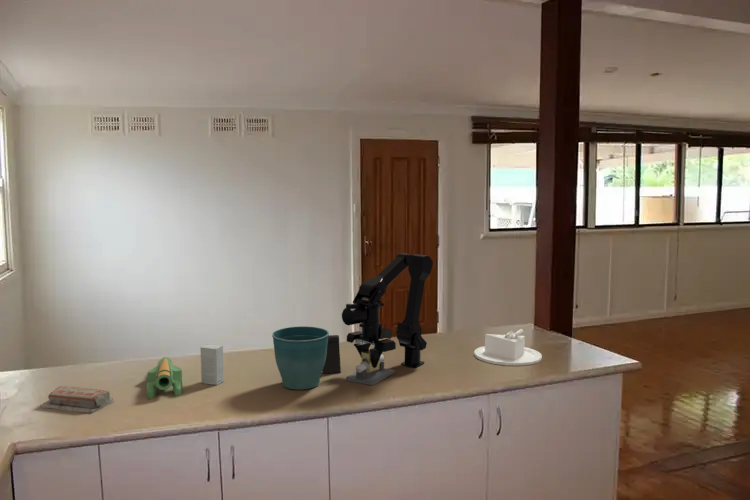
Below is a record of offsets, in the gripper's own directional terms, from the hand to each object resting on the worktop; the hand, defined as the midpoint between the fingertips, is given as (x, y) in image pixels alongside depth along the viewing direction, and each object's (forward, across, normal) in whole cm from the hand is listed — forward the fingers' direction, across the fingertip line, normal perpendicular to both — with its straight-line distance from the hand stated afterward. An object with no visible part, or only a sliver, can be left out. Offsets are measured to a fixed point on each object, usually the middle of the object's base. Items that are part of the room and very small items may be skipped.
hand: (370, 366), depth 206 cm
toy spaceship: (+4, +42, +53) cm, 68 cm away
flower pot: (+4, +9, +22) cm, 24 cm away
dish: (+4, -17, -55) cm, 57 cm away
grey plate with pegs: (+4, 0, 0) cm, 4 cm away
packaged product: (+4, +38, +81) cm, 90 cm away
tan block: (+1, 0, 0) cm, 1 cm away
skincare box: (+4, +30, +42) cm, 52 cm away
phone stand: (+4, +15, +5) cm, 16 cm away
